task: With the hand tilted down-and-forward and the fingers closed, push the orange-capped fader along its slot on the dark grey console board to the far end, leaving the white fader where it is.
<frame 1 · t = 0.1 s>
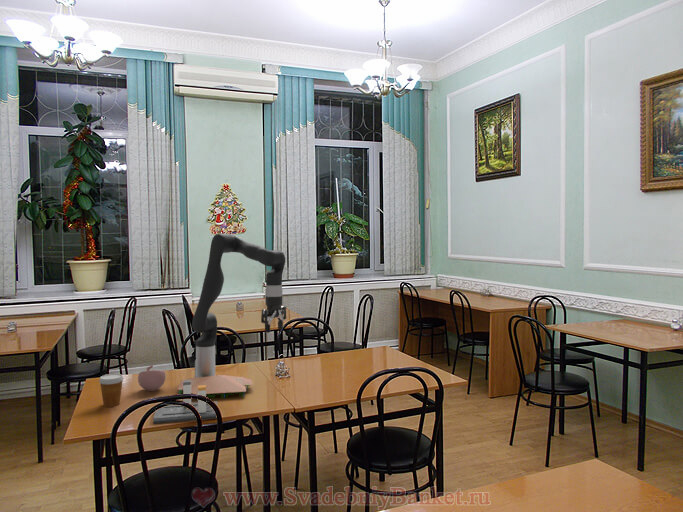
hand: (274, 331, 228), 29 cm above the table, tool pointing down, fingers open, 8 cm apart
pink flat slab: (215, 393, 234), on the table
pink apple: (152, 390, 236), on the table
white fader: (187, 394, 209), point 7 cm above the table, slide at 7.0 cm
orange fader: (202, 400, 202), point 7 cm above the table, slide at 0.0 cm
console: (186, 414, 205), on the table
disposable coffee cup: (111, 404, 216), on the table
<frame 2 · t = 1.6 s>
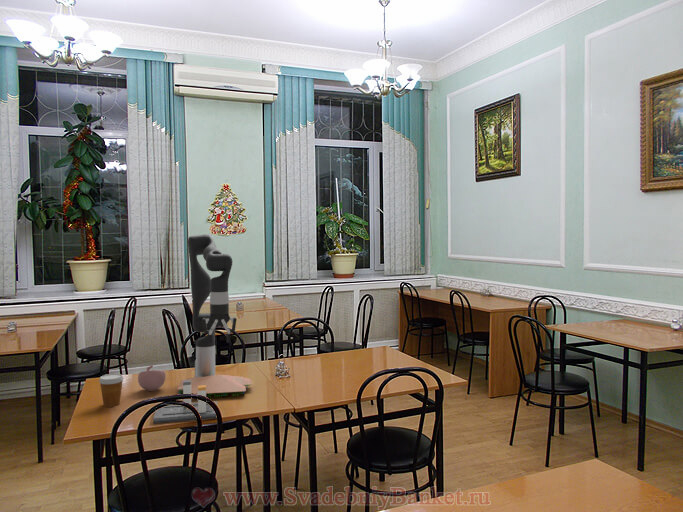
hand: (219, 342, 210), 28 cm above the table, tool pointing down, fingers open, 6 cm apart
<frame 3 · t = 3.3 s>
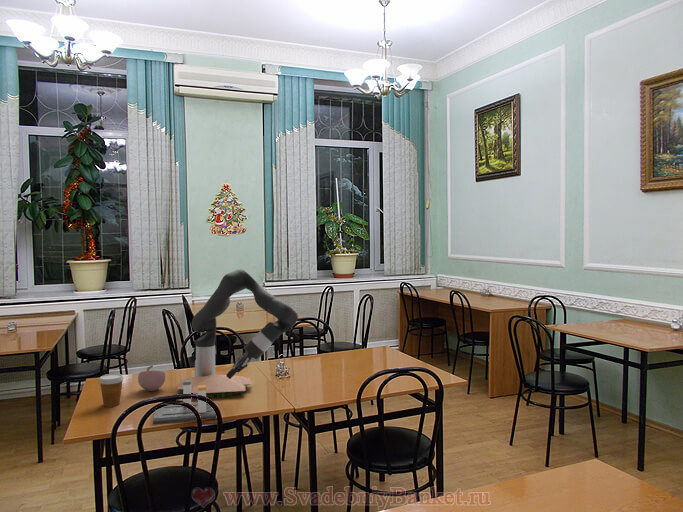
hand: (227, 377, 204), 15 cm above the table, tool tilted 45°, fingers closed
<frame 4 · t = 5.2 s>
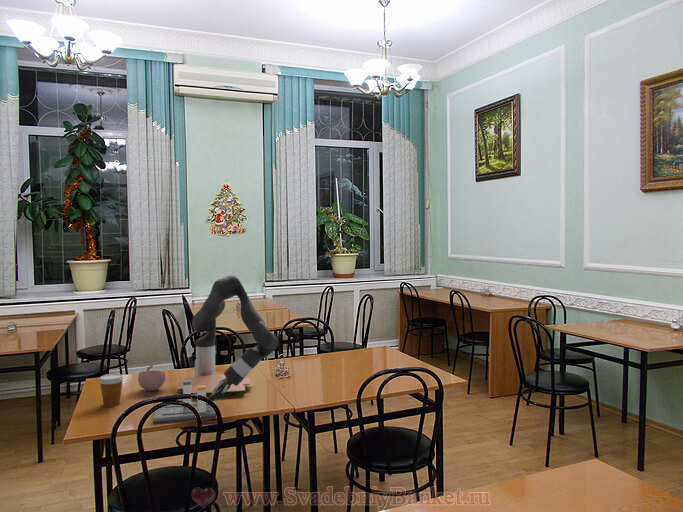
hand: (207, 403, 202), 5 cm above the table, tool tilted 45°, fingers closed
orange fader: (201, 400, 201), point 7 cm above the table, slide at 0.1 cm, touching gripper
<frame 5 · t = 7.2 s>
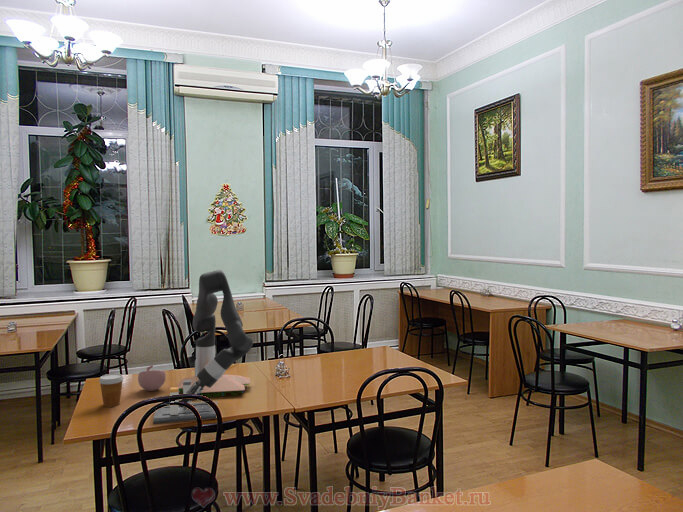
hand: (180, 405, 199), 5 cm above the table, tool tilted 45°, fingers closed
orange fader: (174, 402, 199), point 7 cm above the table, slide at 10.4 cm, touching gripper
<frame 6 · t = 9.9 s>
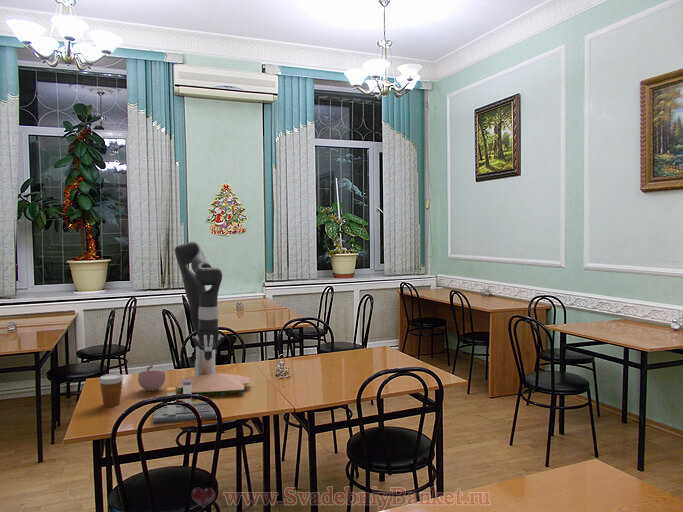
hand: (208, 359, 205), 22 cm above the table, tool pointing down, fingers closed
orange fader: (171, 402, 199), point 7 cm above the table, slide at 11.5 cm
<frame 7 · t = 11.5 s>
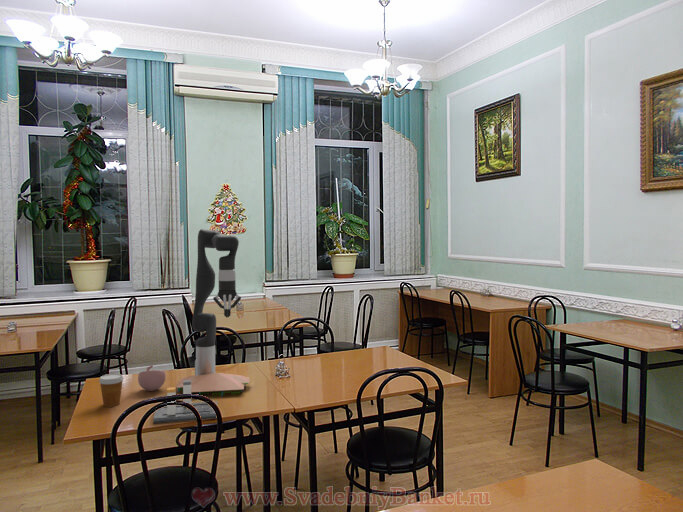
hand: (227, 317, 232), 35 cm above the table, tool pointing down, fingers closed
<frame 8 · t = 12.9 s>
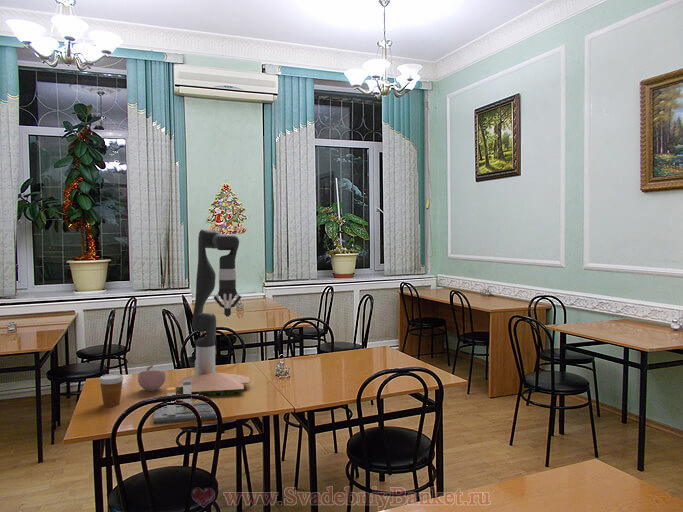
hand: (227, 316, 233), 35 cm above the table, tool pointing down, fingers closed
at the end: orange fader slide at 11.5 cm; white fader slide at 7.0 cm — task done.
